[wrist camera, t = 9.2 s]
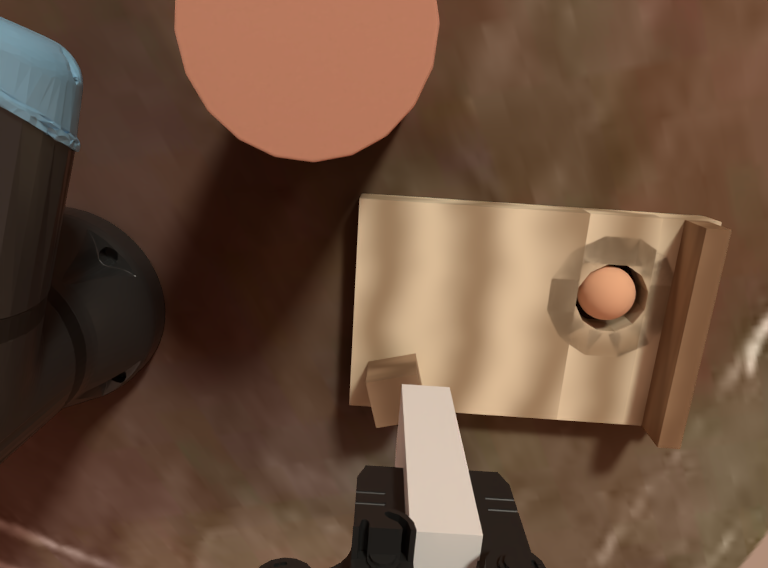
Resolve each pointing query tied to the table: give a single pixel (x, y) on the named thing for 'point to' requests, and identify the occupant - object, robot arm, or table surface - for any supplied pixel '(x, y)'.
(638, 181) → the table surface
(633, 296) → the ball
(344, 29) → the coffee jar
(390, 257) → the board
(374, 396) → the walnut cube
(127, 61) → the table surface
